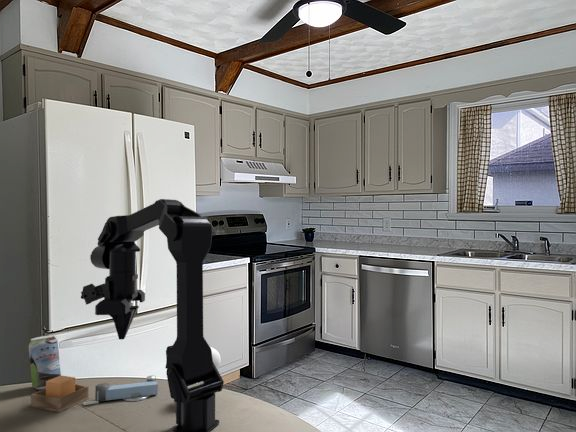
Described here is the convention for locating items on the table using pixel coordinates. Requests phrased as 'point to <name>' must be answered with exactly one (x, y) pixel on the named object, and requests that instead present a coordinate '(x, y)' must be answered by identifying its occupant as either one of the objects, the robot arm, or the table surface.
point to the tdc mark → (91, 402)
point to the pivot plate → (136, 398)
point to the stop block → (60, 386)
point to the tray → (59, 399)
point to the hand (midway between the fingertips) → (121, 339)
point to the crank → (125, 390)
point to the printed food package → (44, 360)
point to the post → (151, 378)
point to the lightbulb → (215, 359)
